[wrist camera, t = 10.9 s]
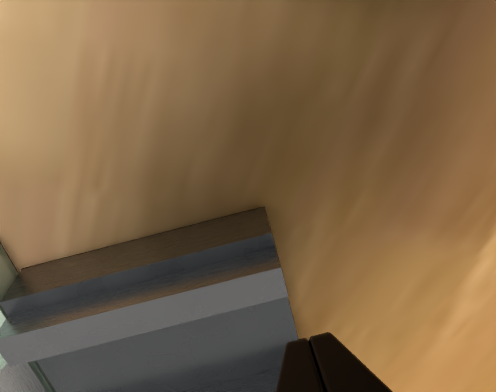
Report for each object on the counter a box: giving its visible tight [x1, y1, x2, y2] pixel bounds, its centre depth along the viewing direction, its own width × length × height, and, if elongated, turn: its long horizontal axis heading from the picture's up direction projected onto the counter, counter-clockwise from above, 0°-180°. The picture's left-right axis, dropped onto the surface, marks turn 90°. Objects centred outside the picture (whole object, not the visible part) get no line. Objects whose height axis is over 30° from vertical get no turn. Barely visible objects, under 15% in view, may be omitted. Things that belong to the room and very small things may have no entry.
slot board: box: [0, 207, 298, 392], centre depth 20 cm, size 12×10×4 cm
